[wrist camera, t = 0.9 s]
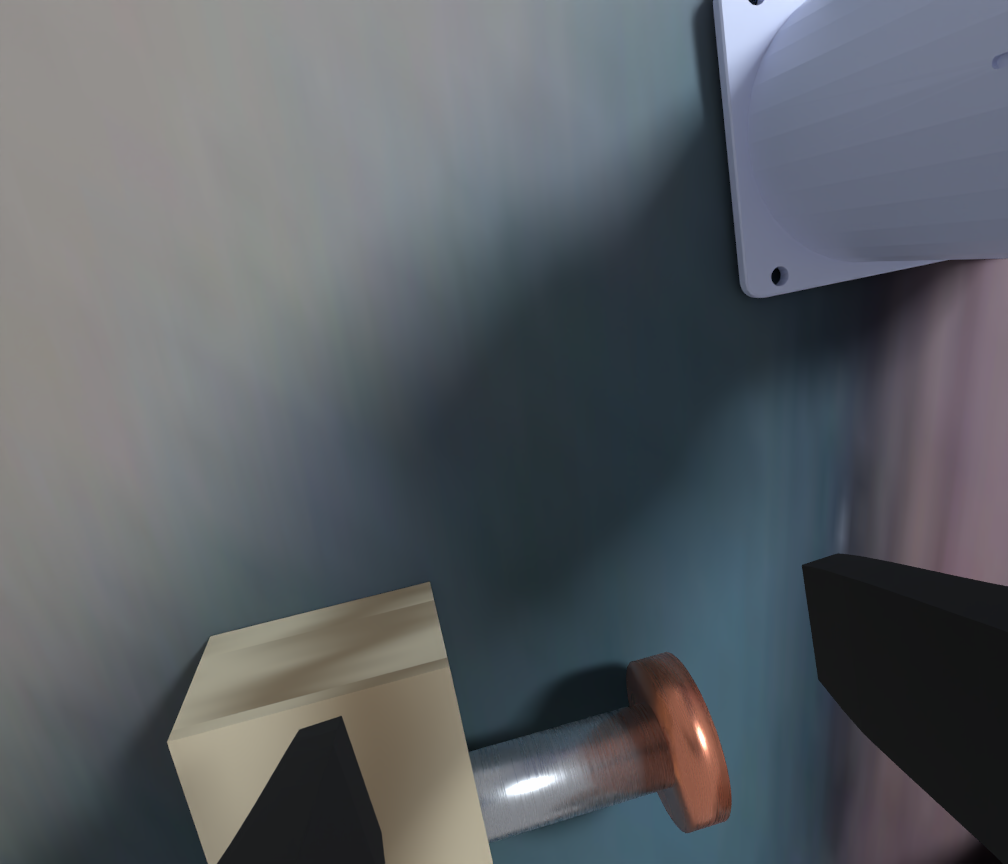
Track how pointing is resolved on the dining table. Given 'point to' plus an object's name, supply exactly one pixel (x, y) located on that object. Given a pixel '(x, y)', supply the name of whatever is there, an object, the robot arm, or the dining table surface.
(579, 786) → the pin
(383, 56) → the dining table surface
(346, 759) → the robot arm
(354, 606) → the hitch block
